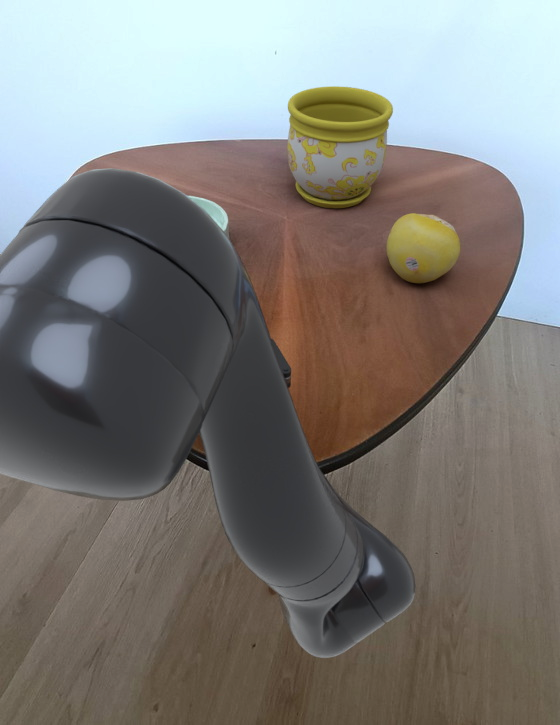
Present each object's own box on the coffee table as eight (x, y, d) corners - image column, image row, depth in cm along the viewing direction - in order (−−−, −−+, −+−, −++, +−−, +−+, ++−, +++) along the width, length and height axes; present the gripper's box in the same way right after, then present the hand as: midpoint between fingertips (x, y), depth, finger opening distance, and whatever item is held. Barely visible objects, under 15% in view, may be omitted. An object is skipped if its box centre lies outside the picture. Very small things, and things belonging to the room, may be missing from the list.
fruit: (451, 298, 82) (468, 240, 76) (379, 288, 84) (389, 230, 77) (451, 261, 90) (467, 204, 83) (385, 252, 91) (394, 196, 84)
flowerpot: (269, 183, 108) (269, 95, 97) (345, 164, 115) (354, 80, 103) (316, 225, 97) (323, 131, 86) (399, 202, 103) (415, 112, 92)
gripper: (324, 389, 53) (254, 297, 64) (184, 441, 49) (133, 331, 59) (319, 438, 59) (255, 345, 69) (192, 488, 54) (144, 380, 64)
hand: (199, 339), depth 64 cm, fingers open, 8 cm apart
